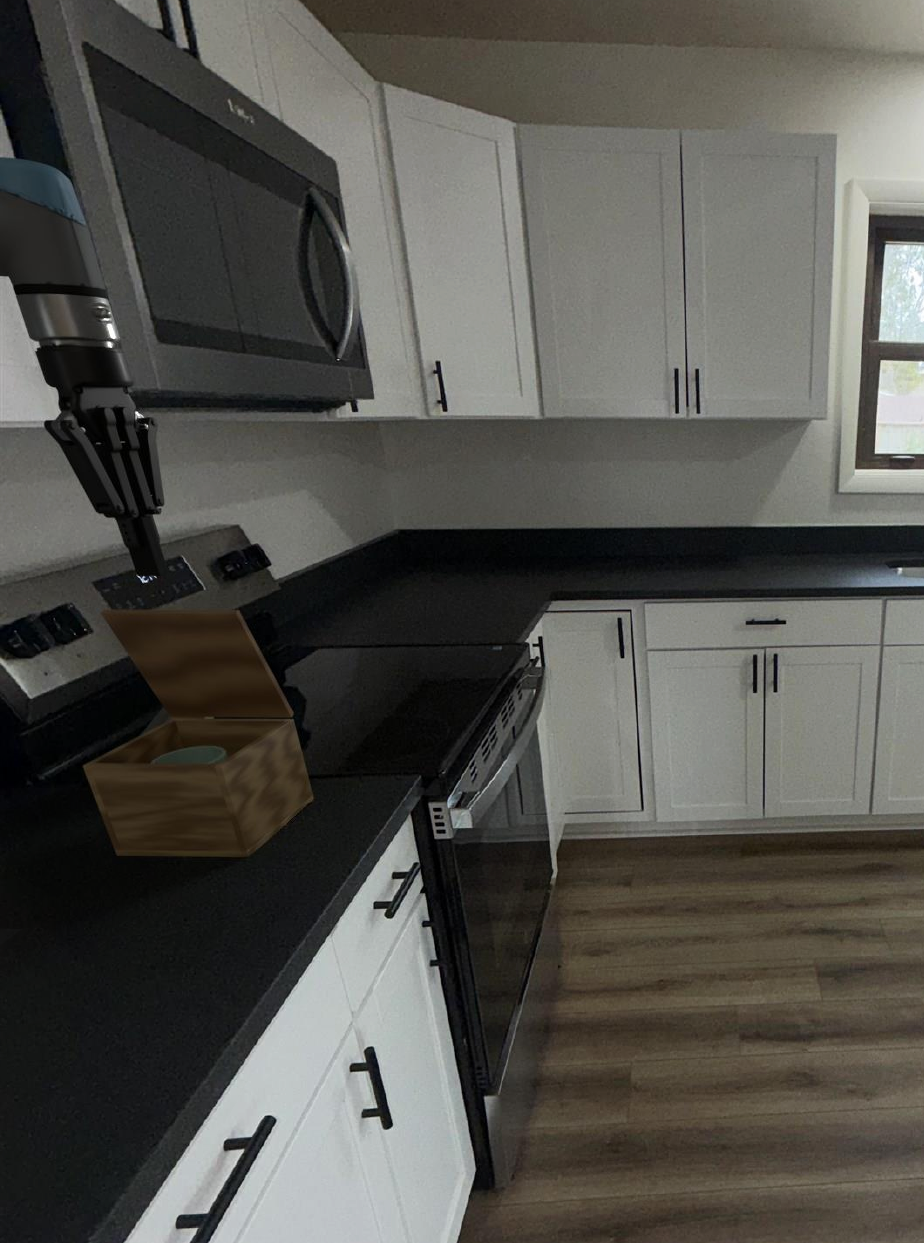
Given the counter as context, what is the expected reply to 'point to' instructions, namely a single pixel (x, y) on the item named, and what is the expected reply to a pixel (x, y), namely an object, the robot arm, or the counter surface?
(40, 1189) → the counter surface
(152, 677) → the lid
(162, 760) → the cup
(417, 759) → the counter surface
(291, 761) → the chest
